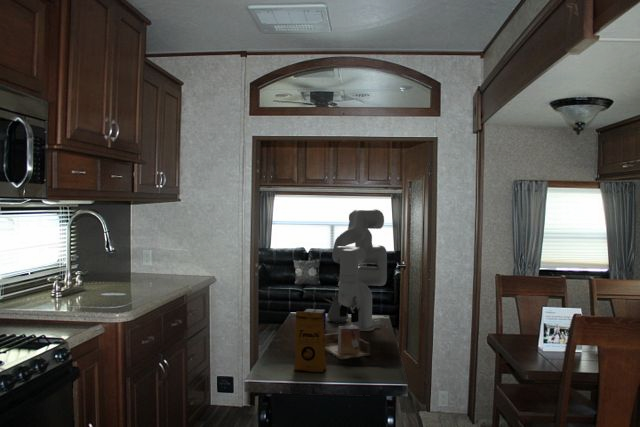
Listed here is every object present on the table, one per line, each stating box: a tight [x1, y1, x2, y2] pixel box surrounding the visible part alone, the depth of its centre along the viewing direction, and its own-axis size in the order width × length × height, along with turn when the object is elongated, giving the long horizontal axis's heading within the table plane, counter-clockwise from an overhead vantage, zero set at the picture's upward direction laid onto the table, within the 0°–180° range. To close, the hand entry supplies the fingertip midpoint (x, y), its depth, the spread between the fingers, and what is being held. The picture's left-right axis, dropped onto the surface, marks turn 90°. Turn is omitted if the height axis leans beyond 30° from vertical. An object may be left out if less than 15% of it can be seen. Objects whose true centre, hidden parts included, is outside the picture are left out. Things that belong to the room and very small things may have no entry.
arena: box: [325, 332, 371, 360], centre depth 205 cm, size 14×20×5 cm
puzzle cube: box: [303, 308, 327, 330], centre depth 237 cm, size 10×10×10 cm
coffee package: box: [293, 311, 328, 373], centre depth 181 cm, size 10×12×22 cm
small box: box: [337, 325, 360, 354], centre depth 199 cm, size 8×6×10 cm
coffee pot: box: [309, 291, 349, 323], centre depth 260 cm, size 21×12×15 cm, turn 76°
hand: (348, 319), depth 200 cm, fingers open, 9 cm apart
